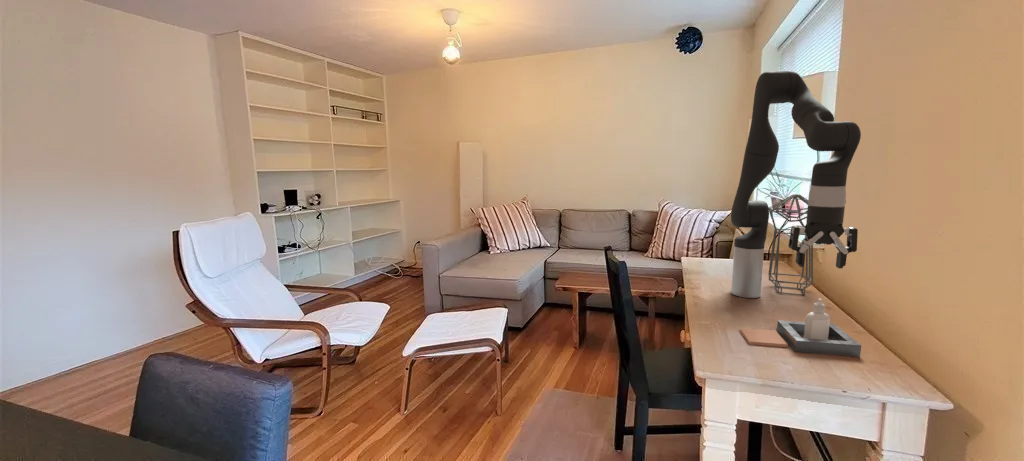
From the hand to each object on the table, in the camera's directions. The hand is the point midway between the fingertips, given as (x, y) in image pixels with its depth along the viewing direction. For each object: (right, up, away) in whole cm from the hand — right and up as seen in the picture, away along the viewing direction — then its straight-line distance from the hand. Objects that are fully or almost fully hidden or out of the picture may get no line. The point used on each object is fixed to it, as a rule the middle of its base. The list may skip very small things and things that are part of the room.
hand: (819, 267), depth 112 cm
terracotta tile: (-11, -20, +6) cm, 24 cm away
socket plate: (+1, -20, +3) cm, 21 cm away
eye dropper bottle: (+1, -20, +3) cm, 21 cm away
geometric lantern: (+22, -13, +47) cm, 53 cm away
